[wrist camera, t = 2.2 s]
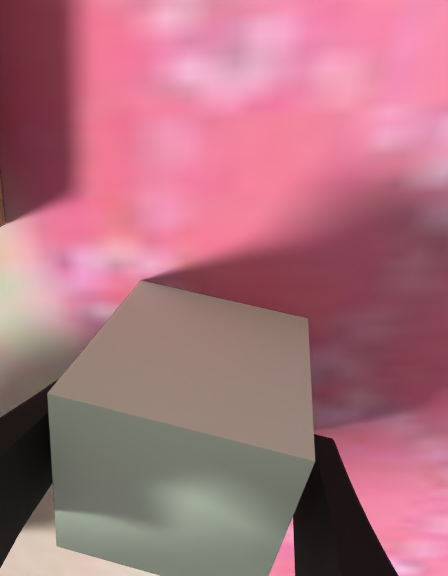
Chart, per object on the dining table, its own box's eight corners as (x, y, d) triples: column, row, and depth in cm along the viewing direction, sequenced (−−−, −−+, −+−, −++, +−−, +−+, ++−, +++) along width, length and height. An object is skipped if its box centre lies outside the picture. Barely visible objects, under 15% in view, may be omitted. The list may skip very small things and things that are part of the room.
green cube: (270, 437, 16) (257, 603, 11) (132, 402, 17) (56, 546, 11) (308, 317, 14) (315, 461, 8) (141, 279, 14) (47, 393, 9)
